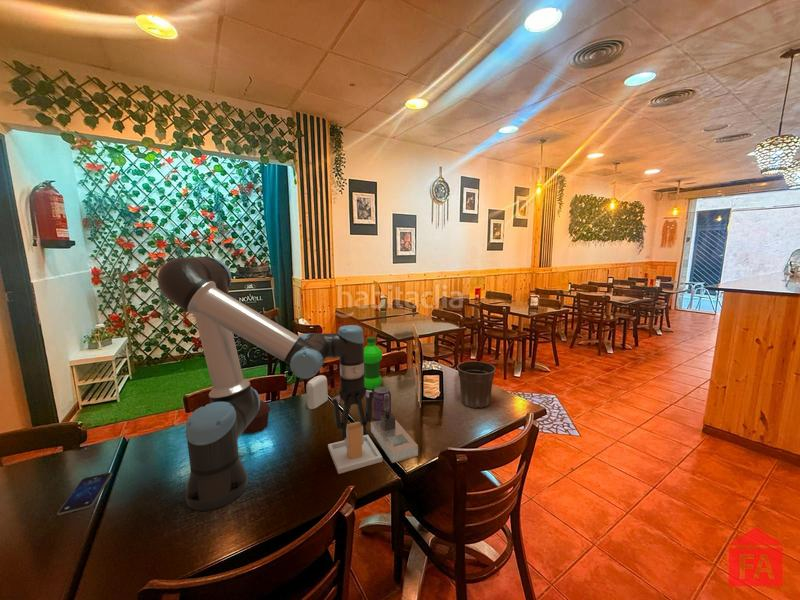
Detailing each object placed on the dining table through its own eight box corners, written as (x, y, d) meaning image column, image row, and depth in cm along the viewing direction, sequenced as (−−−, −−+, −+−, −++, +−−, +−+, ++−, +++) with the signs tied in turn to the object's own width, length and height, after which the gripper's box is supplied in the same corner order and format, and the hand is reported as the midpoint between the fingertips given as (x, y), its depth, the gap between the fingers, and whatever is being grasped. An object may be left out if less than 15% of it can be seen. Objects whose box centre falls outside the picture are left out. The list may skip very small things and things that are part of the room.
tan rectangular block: (350, 459, 104) (349, 430, 103) (346, 452, 108) (345, 424, 106) (362, 456, 106) (361, 427, 104) (358, 449, 109) (357, 421, 108)
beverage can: (392, 414, 134) (391, 386, 132) (389, 423, 127) (389, 393, 125) (374, 413, 135) (374, 385, 133) (371, 422, 128) (371, 393, 126)
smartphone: (54, 515, 83) (82, 478, 96) (55, 518, 83) (82, 481, 97) (92, 505, 86) (113, 470, 99) (92, 508, 86) (114, 473, 100)
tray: (338, 475, 98) (338, 469, 98) (328, 449, 110) (328, 444, 110) (382, 462, 103) (382, 456, 103) (368, 439, 116) (367, 434, 116)
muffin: (231, 432, 122) (229, 406, 120) (253, 417, 132) (251, 394, 131) (257, 437, 118) (255, 411, 116) (278, 422, 128) (276, 398, 127)
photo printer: (313, 410, 138) (312, 382, 136) (305, 408, 140) (304, 380, 138) (329, 400, 147) (328, 374, 145) (321, 398, 149) (320, 372, 147)
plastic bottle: (374, 382, 167) (373, 334, 163) (386, 388, 159) (386, 338, 155) (357, 387, 160) (356, 337, 157) (369, 394, 152) (368, 342, 149)
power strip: (392, 464, 103) (392, 433, 101) (370, 432, 121) (370, 405, 119) (417, 456, 106) (418, 426, 105) (393, 427, 124) (393, 401, 123)
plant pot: (449, 403, 143) (450, 368, 141) (466, 391, 156) (467, 358, 153) (485, 415, 133) (486, 376, 131) (499, 400, 146) (501, 365, 144)
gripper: (327, 384, 96) (330, 457, 99) (382, 374, 103) (383, 444, 106) (322, 375, 103) (325, 444, 106) (373, 367, 110) (375, 432, 113)
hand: (354, 444), depth 106 cm, fingers closed on tan rectangular block, 4 cm apart
